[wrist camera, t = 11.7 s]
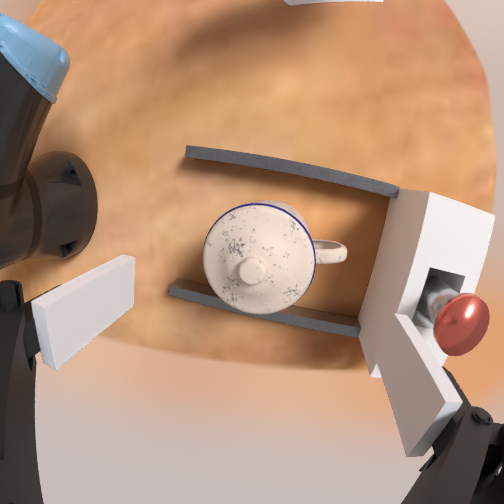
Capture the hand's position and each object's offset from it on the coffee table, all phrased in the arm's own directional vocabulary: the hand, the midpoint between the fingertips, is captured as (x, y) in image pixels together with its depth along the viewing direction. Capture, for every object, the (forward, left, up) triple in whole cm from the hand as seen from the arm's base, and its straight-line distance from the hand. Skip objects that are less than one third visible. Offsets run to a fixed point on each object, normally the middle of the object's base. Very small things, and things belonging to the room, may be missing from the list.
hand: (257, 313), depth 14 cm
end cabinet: (+14, 0, -18) cm, 23 cm away
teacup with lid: (0, 0, -19) cm, 19 cm away
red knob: (+14, 0, -10) cm, 17 cm away
